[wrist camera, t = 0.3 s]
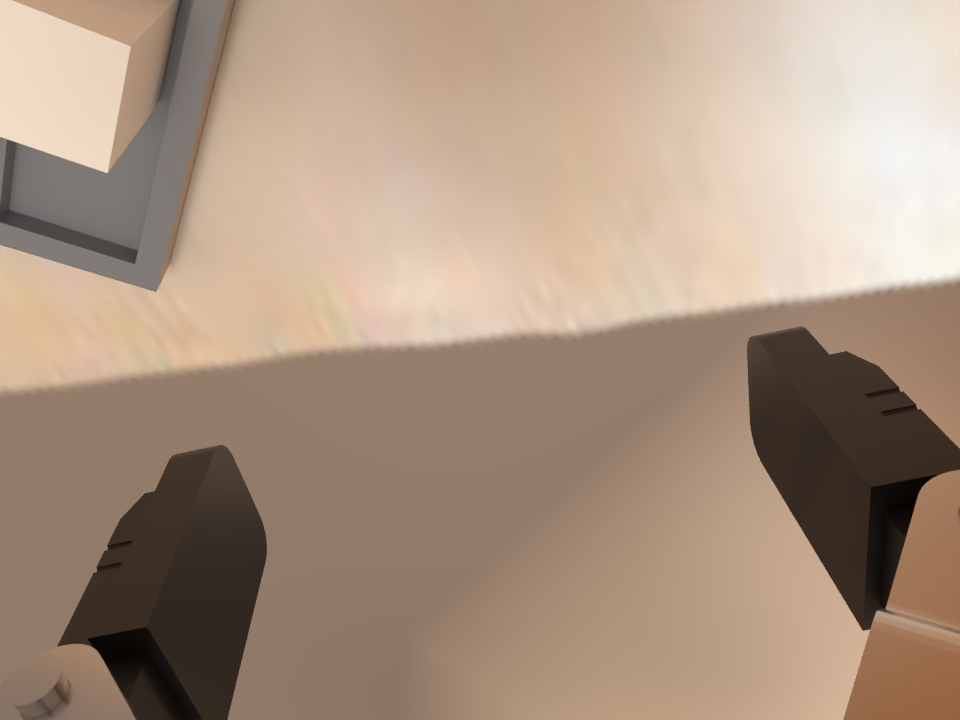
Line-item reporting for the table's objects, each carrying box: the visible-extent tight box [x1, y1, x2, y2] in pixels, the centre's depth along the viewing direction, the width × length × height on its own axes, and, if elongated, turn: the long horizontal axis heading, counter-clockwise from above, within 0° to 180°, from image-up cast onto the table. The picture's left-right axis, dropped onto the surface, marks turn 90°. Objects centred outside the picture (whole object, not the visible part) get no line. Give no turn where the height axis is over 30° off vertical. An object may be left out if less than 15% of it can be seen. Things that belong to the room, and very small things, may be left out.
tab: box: [0, 0, 180, 173], centre depth 25 cm, size 4×4×6 cm
